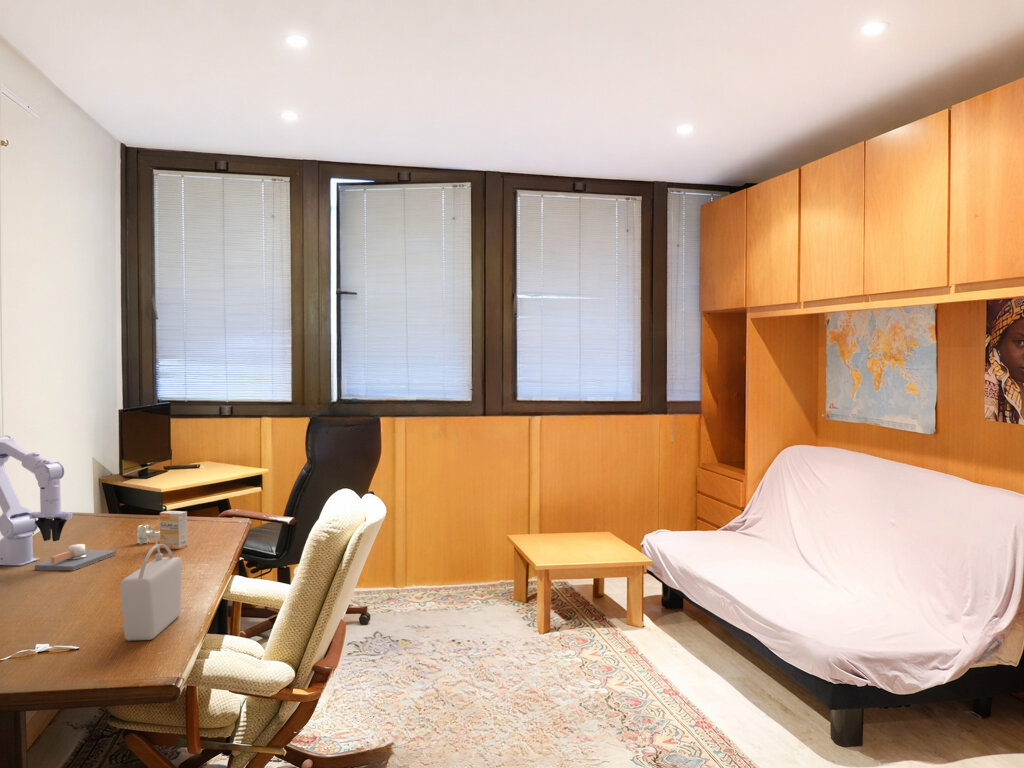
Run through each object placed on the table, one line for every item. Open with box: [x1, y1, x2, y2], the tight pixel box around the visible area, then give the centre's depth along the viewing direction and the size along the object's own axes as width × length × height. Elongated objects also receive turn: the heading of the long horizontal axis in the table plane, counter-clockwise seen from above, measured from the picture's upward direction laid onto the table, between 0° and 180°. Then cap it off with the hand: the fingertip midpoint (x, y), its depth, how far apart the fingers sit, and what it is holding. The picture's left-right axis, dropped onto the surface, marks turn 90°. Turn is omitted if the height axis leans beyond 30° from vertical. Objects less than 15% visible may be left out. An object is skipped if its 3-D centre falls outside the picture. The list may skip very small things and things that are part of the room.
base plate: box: [34, 549, 117, 571], centre depth 247 cm, size 14×20×2 cm
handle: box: [50, 543, 86, 563], centre depth 243 cm, size 13×5×3 cm, turn 171°
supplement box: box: [159, 510, 188, 550], centre depth 265 cm, size 8×5×13 cm, turn 76°
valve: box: [136, 524, 160, 544], centre depth 274 cm, size 7×7×12 cm
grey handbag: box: [119, 525, 183, 642], centre depth 183 cm, size 22×8×25 cm, turn 4°
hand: (51, 540), depth 242 cm, fingers open, 3 cm apart
